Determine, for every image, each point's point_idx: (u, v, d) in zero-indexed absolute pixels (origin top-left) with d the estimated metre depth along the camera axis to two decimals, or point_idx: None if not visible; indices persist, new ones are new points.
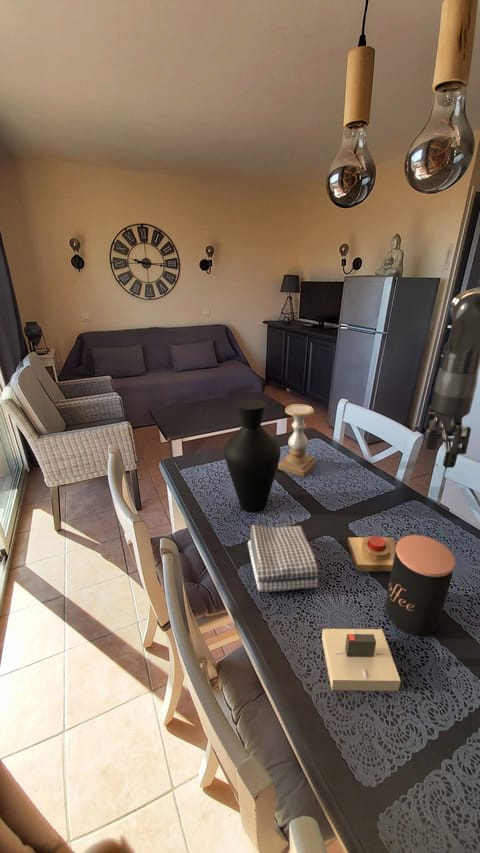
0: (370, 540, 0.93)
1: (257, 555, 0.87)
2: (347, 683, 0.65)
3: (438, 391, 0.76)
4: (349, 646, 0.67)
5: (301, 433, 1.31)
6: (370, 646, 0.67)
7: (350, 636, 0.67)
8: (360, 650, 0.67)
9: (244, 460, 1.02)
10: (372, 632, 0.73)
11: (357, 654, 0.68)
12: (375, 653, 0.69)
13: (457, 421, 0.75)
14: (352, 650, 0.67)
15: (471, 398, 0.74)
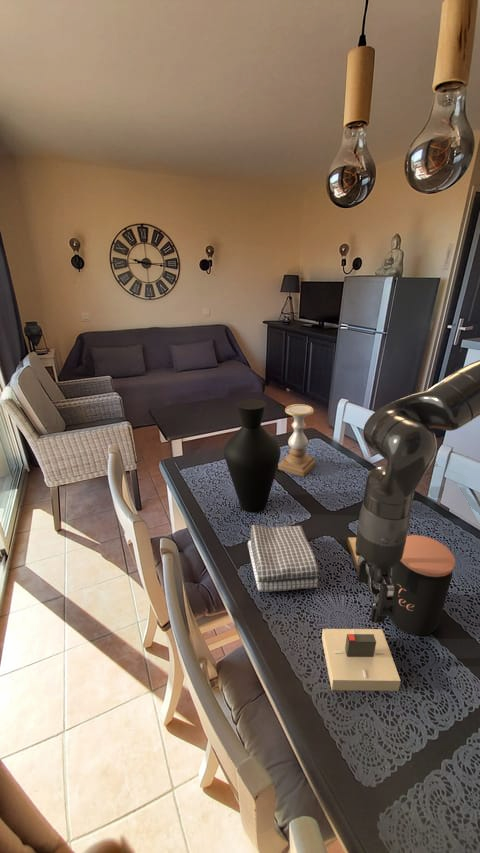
0: None
1: (257, 555, 0.87)
2: (347, 683, 0.65)
3: (361, 531, 0.58)
4: (349, 646, 0.67)
5: (301, 433, 1.31)
6: (370, 646, 0.67)
7: (350, 636, 0.67)
8: (360, 650, 0.67)
9: (244, 460, 1.02)
10: (372, 632, 0.73)
11: (357, 654, 0.68)
12: (375, 653, 0.69)
13: (384, 571, 0.58)
14: (352, 650, 0.67)
15: (401, 545, 0.56)
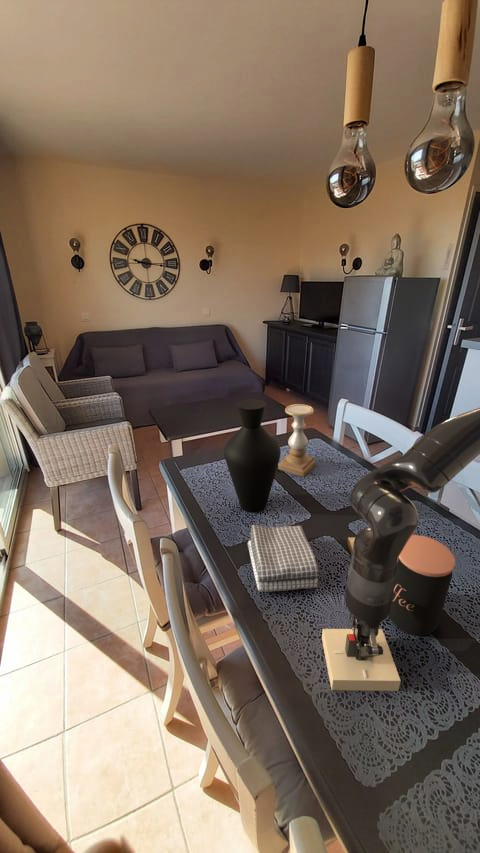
0: None
1: (257, 555, 0.87)
2: (347, 683, 0.65)
3: (349, 589, 0.61)
4: (349, 646, 0.67)
5: (301, 433, 1.31)
6: None
7: (350, 636, 0.67)
8: None
9: (244, 460, 1.02)
10: None
11: None
12: None
13: (372, 628, 0.61)
14: (352, 650, 0.67)
15: (387, 604, 0.59)
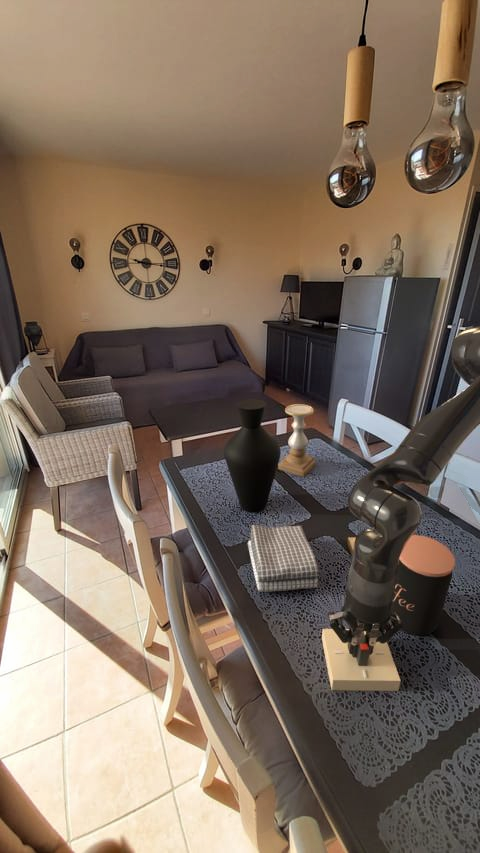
0: None
1: (257, 555, 0.87)
2: (347, 683, 0.65)
3: (382, 604, 0.58)
4: (368, 654, 0.66)
5: (301, 433, 1.31)
6: None
7: (364, 647, 0.65)
8: None
9: (244, 460, 1.02)
10: None
11: None
12: (375, 653, 0.69)
13: None
14: None
15: None
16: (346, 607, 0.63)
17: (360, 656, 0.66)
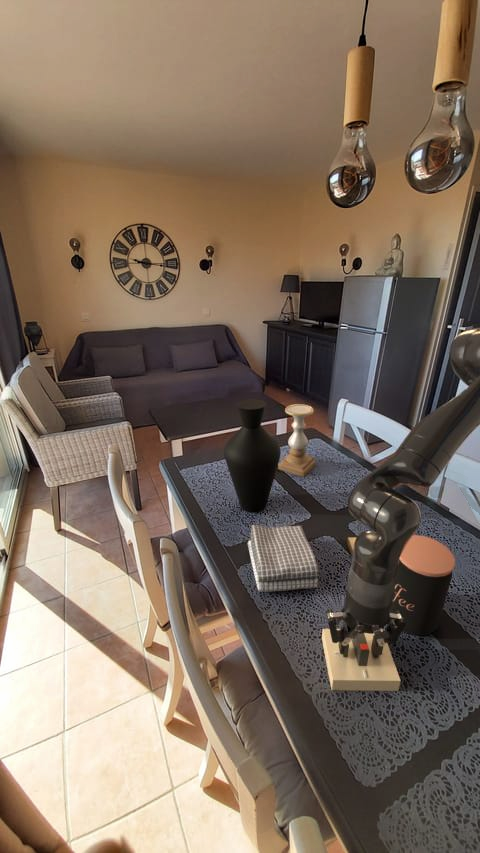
0: None
1: (257, 555, 0.87)
2: (347, 683, 0.65)
3: (381, 606, 0.58)
4: (368, 654, 0.66)
5: (301, 433, 1.31)
6: None
7: (364, 647, 0.65)
8: None
9: (244, 460, 1.02)
10: None
11: None
12: None
13: None
14: None
15: None
16: (346, 609, 0.63)
17: (360, 656, 0.66)
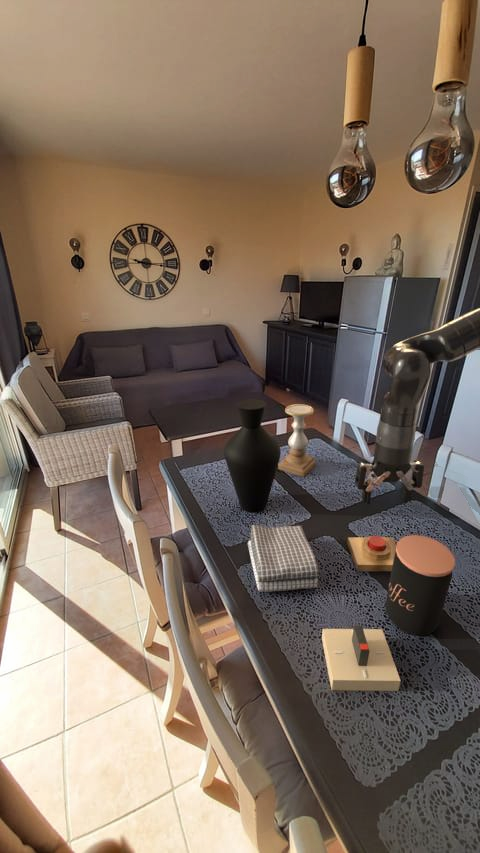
0: (370, 540, 0.93)
1: (257, 555, 0.87)
2: (347, 683, 0.65)
3: (405, 446, 0.74)
4: (368, 654, 0.66)
5: (301, 433, 1.31)
6: None
7: (364, 647, 0.65)
8: None
9: (244, 460, 1.02)
10: (372, 632, 0.73)
11: None
12: (375, 653, 0.69)
13: None
14: None
15: None
16: (375, 459, 0.79)
17: (360, 656, 0.66)
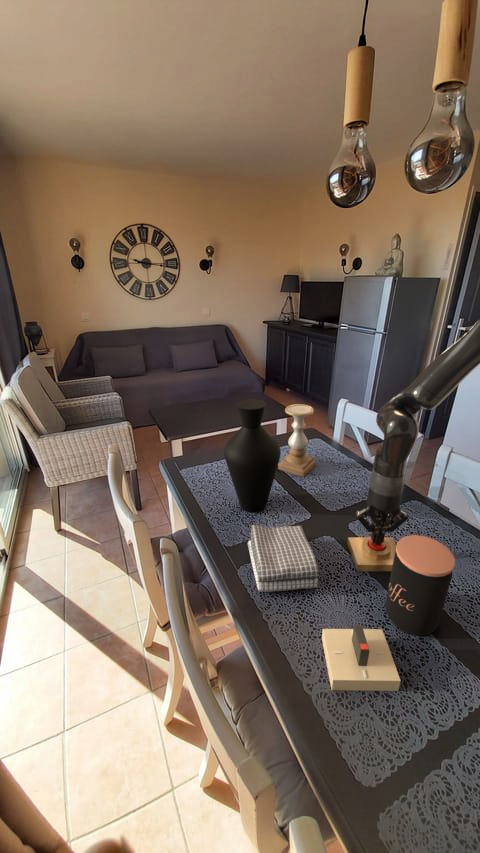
0: (370, 542, 0.94)
1: (257, 555, 0.87)
2: (347, 683, 0.65)
3: (395, 494, 0.83)
4: (368, 654, 0.66)
5: (301, 433, 1.31)
6: None
7: (364, 647, 0.65)
8: None
9: (244, 460, 1.02)
10: (372, 632, 0.73)
11: None
12: (375, 653, 0.69)
13: None
14: None
15: None
16: (368, 503, 0.88)
17: (360, 656, 0.66)
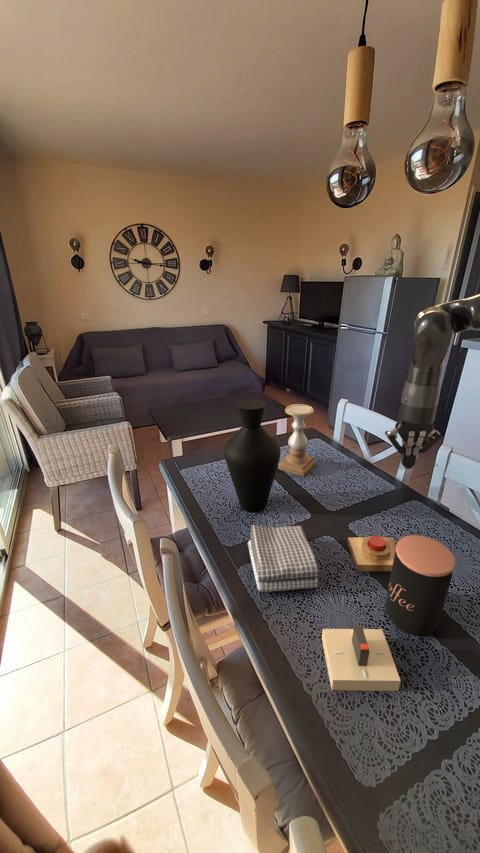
0: (370, 540, 0.93)
1: (257, 555, 0.87)
2: (347, 683, 0.65)
3: (430, 405, 0.78)
4: (368, 654, 0.66)
5: (301, 433, 1.31)
6: None
7: (364, 647, 0.65)
8: None
9: (244, 460, 1.02)
10: (372, 632, 0.73)
11: None
12: (375, 653, 0.69)
13: None
14: None
15: None
16: (400, 420, 0.83)
17: (360, 656, 0.66)
